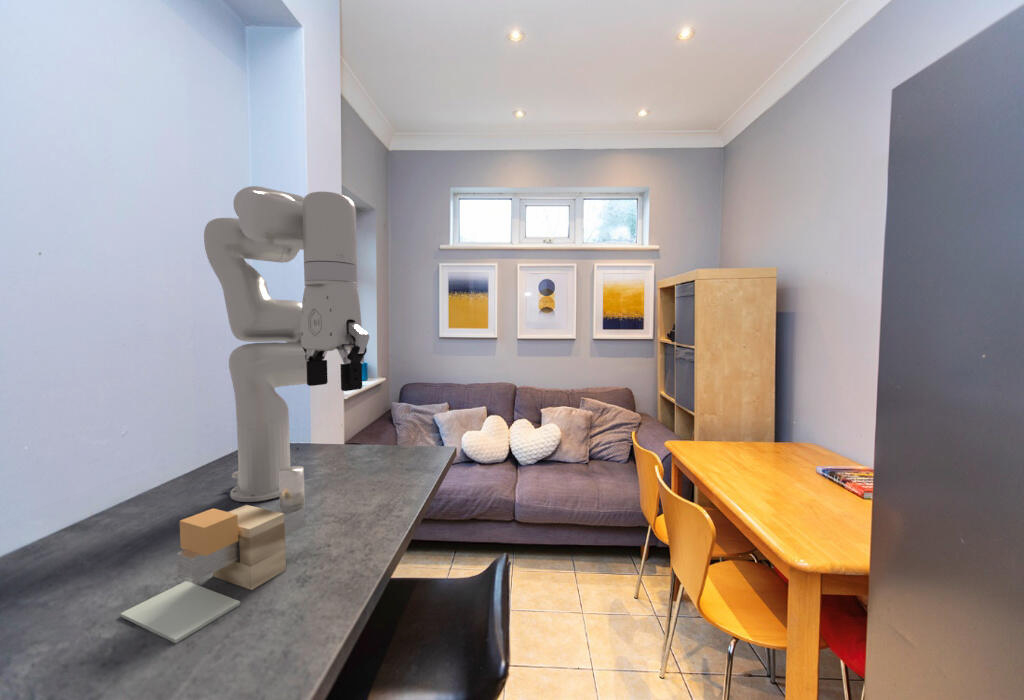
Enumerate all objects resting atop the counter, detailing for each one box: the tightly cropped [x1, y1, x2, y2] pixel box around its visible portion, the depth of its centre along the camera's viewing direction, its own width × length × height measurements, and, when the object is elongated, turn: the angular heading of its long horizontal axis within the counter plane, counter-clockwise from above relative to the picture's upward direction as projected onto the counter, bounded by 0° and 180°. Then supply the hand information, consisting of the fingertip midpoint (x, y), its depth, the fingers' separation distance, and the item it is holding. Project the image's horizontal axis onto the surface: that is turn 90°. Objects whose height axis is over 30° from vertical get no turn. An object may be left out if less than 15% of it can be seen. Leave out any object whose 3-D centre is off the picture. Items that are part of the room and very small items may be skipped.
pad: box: [120, 580, 241, 644], centre depth 51 cm, size 11×7×1 cm, turn 66°
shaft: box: [176, 465, 307, 584], centre depth 58 cm, size 3×17×9 cm, turn 156°
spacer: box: [179, 508, 238, 556], centre depth 54 cm, size 5×4×4 cm
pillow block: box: [212, 504, 287, 591], centre depth 58 cm, size 8×5×8 cm, turn 66°
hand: (333, 387), depth 66 cm, fingers open, 9 cm apart
